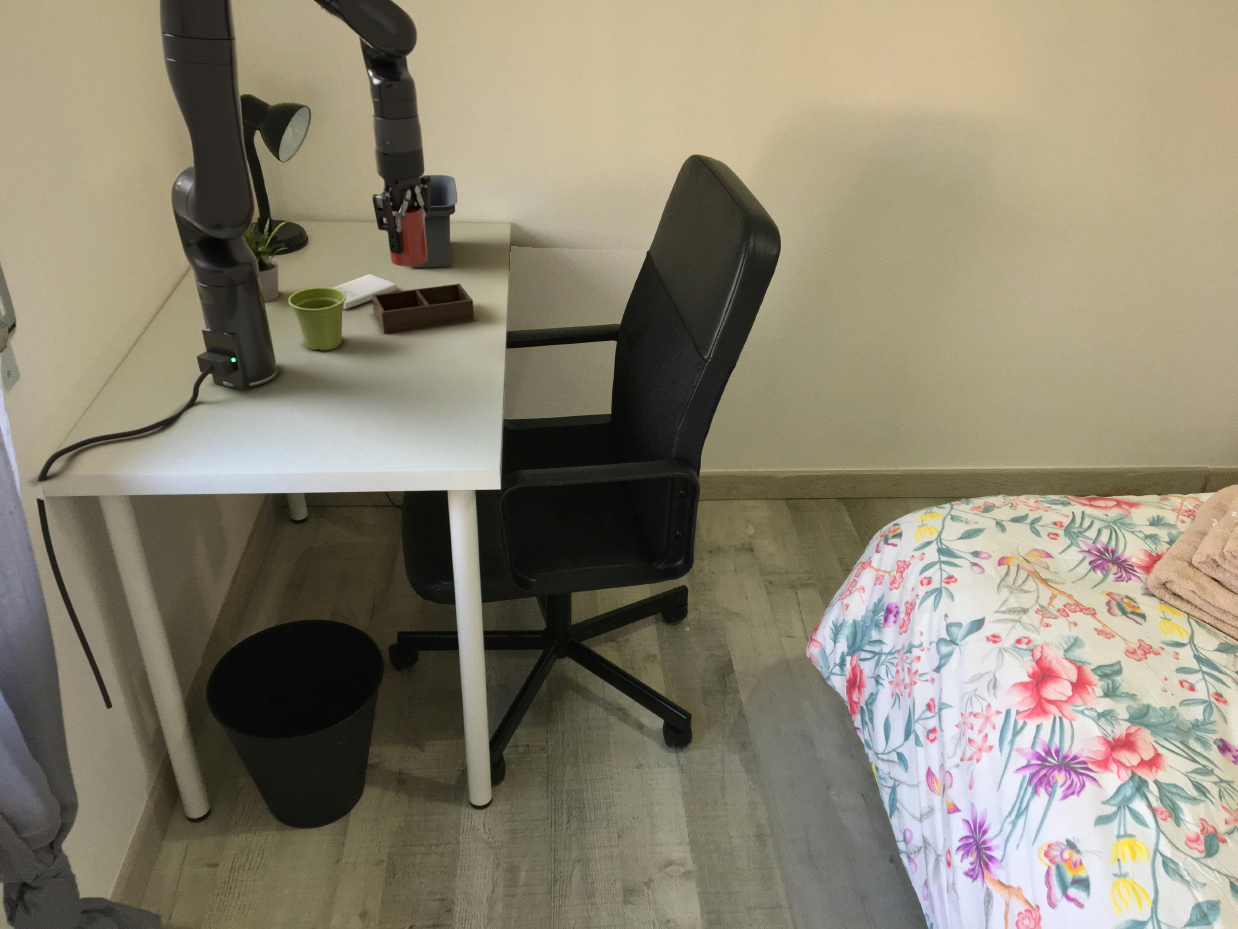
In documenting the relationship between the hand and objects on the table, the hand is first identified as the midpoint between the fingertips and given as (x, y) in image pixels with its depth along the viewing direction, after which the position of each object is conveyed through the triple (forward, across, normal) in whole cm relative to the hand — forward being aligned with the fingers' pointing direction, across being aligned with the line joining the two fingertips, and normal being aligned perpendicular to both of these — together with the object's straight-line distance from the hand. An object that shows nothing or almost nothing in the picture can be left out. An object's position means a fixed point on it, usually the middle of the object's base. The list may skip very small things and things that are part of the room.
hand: (408, 246), depth 153 cm
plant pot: (+18, +8, -14) cm, 24 cm away
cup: (+2, 0, 0) cm, 2 cm away
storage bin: (+18, -38, -21) cm, 47 cm away
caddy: (+17, -9, -4) cm, 20 cm away
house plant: (+18, -4, -38) cm, 42 cm away
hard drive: (+18, -13, -21) cm, 30 cm away
